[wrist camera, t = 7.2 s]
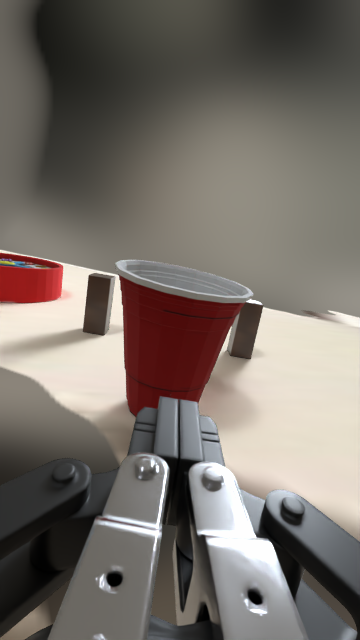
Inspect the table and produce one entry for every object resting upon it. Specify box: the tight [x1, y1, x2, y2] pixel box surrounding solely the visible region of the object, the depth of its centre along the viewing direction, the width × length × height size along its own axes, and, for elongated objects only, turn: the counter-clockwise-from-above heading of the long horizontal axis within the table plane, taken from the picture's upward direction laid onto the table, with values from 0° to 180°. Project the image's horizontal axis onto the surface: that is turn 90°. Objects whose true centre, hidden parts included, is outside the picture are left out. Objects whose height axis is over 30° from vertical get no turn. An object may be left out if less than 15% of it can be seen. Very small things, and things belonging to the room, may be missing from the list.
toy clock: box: [0, 253, 63, 303], centre depth 59 cm, size 20×6×20 cm
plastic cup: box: [115, 260, 253, 417], centre depth 26 cm, size 11×11×12 cm
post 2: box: [227, 300, 263, 359], centre depth 45 cm, size 3×3×8 cm
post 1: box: [83, 273, 115, 335], centre depth 44 cm, size 3×3×8 cm
